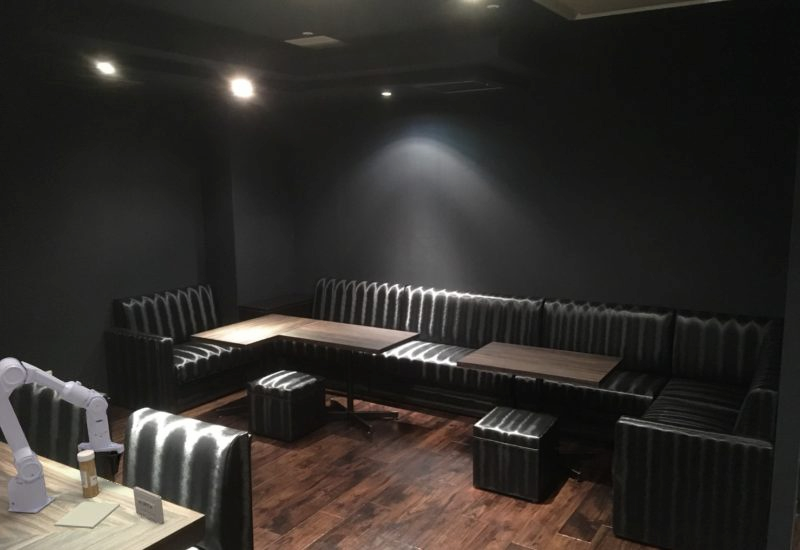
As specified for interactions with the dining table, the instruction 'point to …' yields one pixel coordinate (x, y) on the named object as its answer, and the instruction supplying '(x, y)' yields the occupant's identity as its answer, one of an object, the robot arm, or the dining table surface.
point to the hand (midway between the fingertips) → (104, 473)
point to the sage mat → (87, 515)
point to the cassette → (148, 505)
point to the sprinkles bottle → (88, 473)
